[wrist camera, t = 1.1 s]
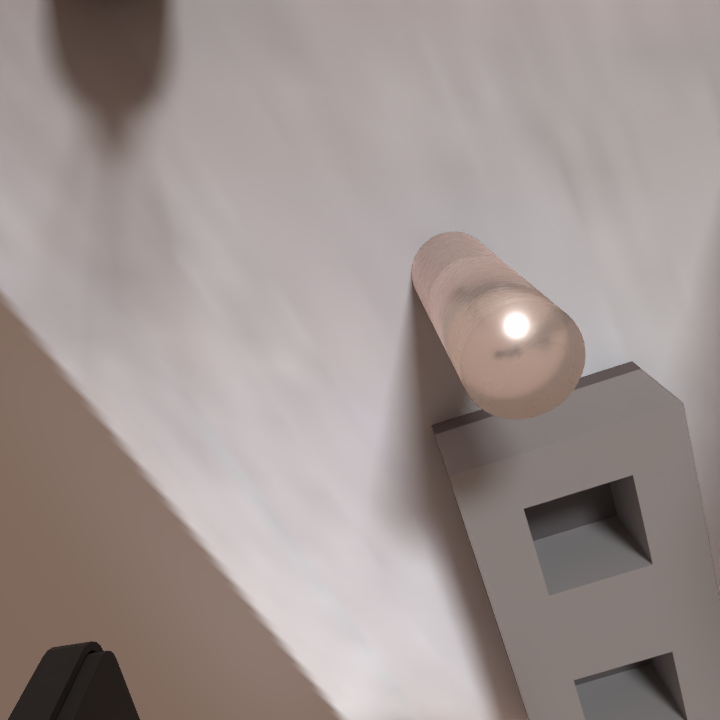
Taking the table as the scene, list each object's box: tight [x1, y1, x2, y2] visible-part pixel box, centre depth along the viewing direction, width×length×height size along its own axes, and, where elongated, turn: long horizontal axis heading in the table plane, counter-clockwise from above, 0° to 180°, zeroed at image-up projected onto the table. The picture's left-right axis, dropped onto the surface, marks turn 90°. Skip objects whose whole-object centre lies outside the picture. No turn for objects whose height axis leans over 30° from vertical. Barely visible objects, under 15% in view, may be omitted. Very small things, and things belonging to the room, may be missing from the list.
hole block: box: [432, 362, 720, 720], centre depth 34 cm, size 10×20×5 cm, turn 19°
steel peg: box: [412, 232, 585, 420], centre depth 25 cm, size 4×4×12 cm
